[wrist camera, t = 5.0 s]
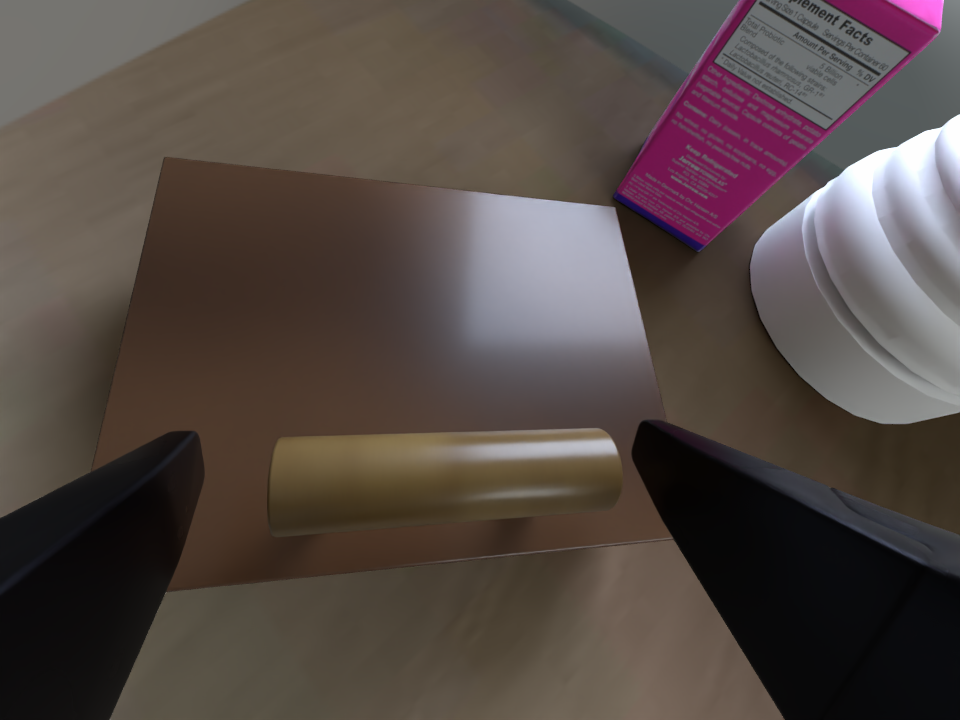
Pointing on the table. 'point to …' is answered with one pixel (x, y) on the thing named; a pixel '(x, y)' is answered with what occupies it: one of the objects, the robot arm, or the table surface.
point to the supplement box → (767, 104)
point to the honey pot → (873, 283)
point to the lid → (384, 373)
